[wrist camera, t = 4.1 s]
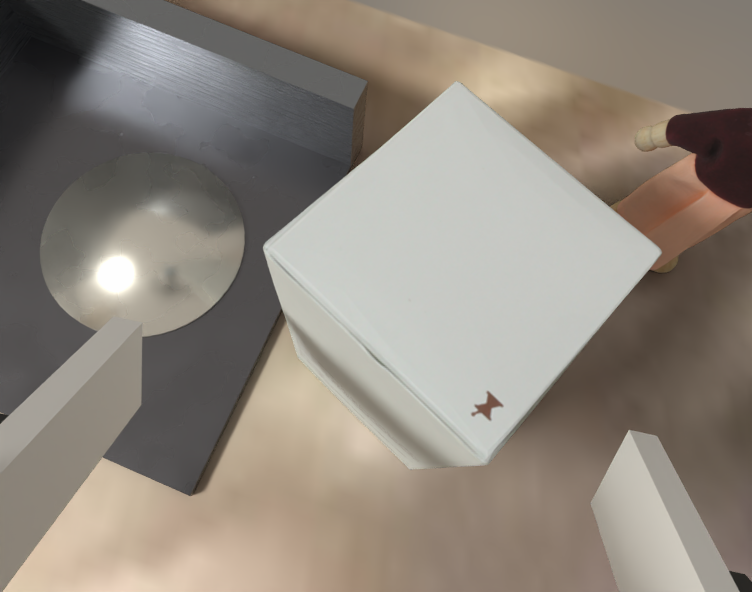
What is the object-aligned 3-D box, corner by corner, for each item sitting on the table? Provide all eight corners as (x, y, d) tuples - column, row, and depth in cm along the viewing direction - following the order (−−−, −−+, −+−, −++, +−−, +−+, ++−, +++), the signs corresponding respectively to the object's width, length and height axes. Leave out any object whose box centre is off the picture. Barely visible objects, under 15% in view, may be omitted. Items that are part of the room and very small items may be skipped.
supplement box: (520, 354, 26) (680, 255, 14) (409, 474, 24) (485, 479, 12) (404, 246, 27) (461, 69, 15) (290, 353, 25) (251, 247, 13)
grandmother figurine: (564, 246, 28) (741, 74, 16) (584, 181, 29) (765, -25, 17) (713, 305, 27) (1012, 176, 15) (728, 237, 29) (1017, 68, 17)
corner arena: (362, 145, 29) (367, 81, 24) (192, 495, 23) (155, 502, 19) (26, 10, 30) (-34, -78, 25) (-212, 317, 24) (-346, 279, 19)
